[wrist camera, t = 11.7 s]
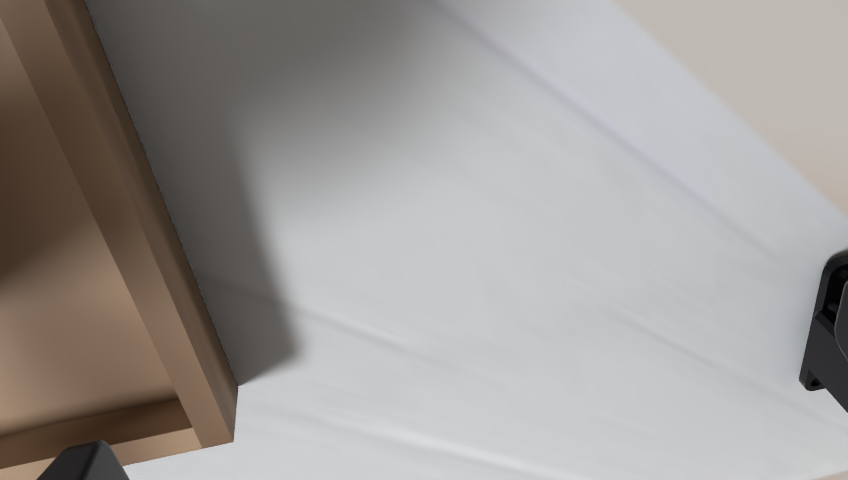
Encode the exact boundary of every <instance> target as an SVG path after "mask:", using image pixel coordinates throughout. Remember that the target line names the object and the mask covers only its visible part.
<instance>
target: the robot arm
mask: <svg viewBox="0 0 848 480" xmlns="http://www.w3.org/2000/svg"><path fill="white" fill-rule="evenodd" d="M799 381H800V382H801V384H802V385H803V386H804V387H805V388H806V389H807V390H809V391H815V390H820V389H824V388H826V389H827V390H828V391H829V392H830V394H831V395H832V396H833V397H834V398H835V399H836V400H837V401H838V403H839V404H840V405H841V406H842V407H843V408H844V409H845V410H846V412H847V413H848V256H846V257H841V258H837V259H834V260H832V261H831V262H829V263H828V264H827V265H826V266H825V267H824V269H823V272H822V276H821V281H820V285H819V290H818V294H817V299H816V304H815V308H814V313H813V317H812V322H811V326H810V331H809V335H808V340H807V344H806V349H805V354H804V358H803V363H802V367H801V372H800V376H799ZM36 480H130V479H129V478H128V476H127V474H126V473H125V471H124V469H123V467H122V466H121V464H120V462H119V460H118V459H117V457H116V455H115V454H114V452H113V450H112V448H111V447H110V446H109V444H108V443H107V442H105V441H103V440H94V441H89V442H85V443H80V444H75V445H71V446H69V447H67V448H65V449H64V450H63V451H62V452H61V453H60V454H59V455H58V456H57V457H56V458H55V459H54V460H53V461H52V463H51V464H50V465H49V466H48V467H47V468H46V469H45V470H44V472H43V473H42V474H41V475H40V476H39V477H38V478H37V479H36Z"/></svg>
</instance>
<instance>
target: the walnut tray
mask: <svg viewBox="0 0 848 480" xmlns="http://www.w3.org/2000/svg"><path fill="white" fill-rule="evenodd" d="M237 395H238V386H237V383H236V381H235V378H234V376H233V373H232V371H231V368H230V366H229V363H228V361H227V358H226V356H225V353H224V351H223V348H222V346H221V343H220V341H219V338H218V336H217V333H216V331H215V328H214V326H213V323H212V321H211V318H210V316H209V313H208V310H207V308H206V305H205V303H204V300H203V298H202V295H201V293H200V290H199V288H198V285H197V283H196V280H195V278H194V275H193V273H192V270H191V268H190V265H189V263H188V260H187V258H186V255H185V253H184V250H183V248H182V245H181V243H180V240H179V238H178V235H177V233H176V230H175V228H174V225H173V223H172V220H171V218H170V215H169V213H168V210H167V208H166V205H165V203H164V200H163V198H162V195H161V192H160V190H159V187H158V185H157V182H156V180H155V177H154V175H153V172H152V170H151V167H150V165H149V162H148V160H147V157H146V155H145V152H144V150H143V147H142V145H141V142H140V140H139V137H138V135H137V132H136V130H135V127H134V125H133V122H132V120H131V117H130V115H129V112H128V110H127V107H126V105H125V102H124V100H123V97H122V95H121V92H120V90H119V87H118V85H117V82H116V80H115V77H114V74H113V72H112V69H111V67H110V64H109V62H108V59H107V57H106V54H105V52H104V49H103V47H102V44H101V42H100V39H99V37H98V34H97V32H96V29H95V27H94V24H93V22H92V19H91V17H90V14H89V12H88V9H87V7H86V4H85V2H84V0H0V480H36V479H37V478H38V477H39V476H40V475H41V474H42V473H43V472H44V470H45V469H46V468H47V467H48V466H49V465H50V464H51V463H52V461H53V460H54V459H55V458H56V457H57V456H58V455H59V454H60V453H61V452H62V451H63V450H64V449H65V448H67V447H69V446H71V445H75V444H80V443H85V442H89V441H94V440H103V441H105V442H107V443H108V444H109V446H110V447H111V448H112V450H113V452H114V454H115V455H116V457H117V459H118V460H119V462H120V464H121V466H125V465H130V464H134V463H139V462H143V461H148V460H153V459H157V458H162V457H166V456H171V455H176V454H180V453H185V452H189V451H194V450H199V449H203V448H208V447H212V446H217V445H222V444H226V443H231V442H233V440H234V429H235V418H236V406H237Z"/></svg>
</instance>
